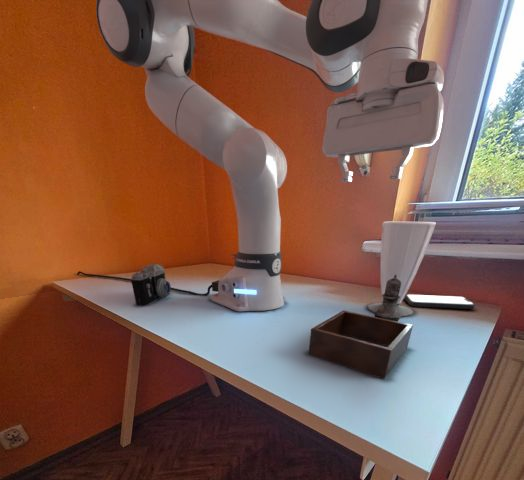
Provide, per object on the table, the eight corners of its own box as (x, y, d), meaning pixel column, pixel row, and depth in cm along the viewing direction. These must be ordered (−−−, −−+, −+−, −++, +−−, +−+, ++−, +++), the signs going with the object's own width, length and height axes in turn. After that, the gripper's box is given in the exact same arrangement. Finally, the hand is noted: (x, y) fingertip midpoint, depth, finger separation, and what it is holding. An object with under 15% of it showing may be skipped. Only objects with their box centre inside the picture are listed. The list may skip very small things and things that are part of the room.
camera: (155, 307, 76) (149, 270, 71) (133, 305, 77) (125, 269, 72) (178, 293, 89) (174, 261, 84) (159, 292, 90) (153, 261, 85)
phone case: (410, 307, 76) (475, 310, 73) (411, 301, 76) (477, 304, 72) (403, 299, 84) (462, 301, 81) (404, 293, 83) (463, 296, 80)
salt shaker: (381, 334, 58) (393, 278, 53) (365, 324, 64) (374, 272, 58) (404, 331, 60) (418, 276, 55) (386, 322, 65) (397, 271, 60)
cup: (416, 319, 67) (442, 222, 58) (367, 314, 70) (384, 222, 61) (409, 305, 77) (431, 221, 67) (367, 302, 80) (381, 221, 71)
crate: (308, 353, 50) (310, 328, 48) (340, 331, 60) (343, 310, 57) (384, 379, 43) (391, 350, 40) (406, 349, 52) (413, 324, 50)
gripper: (320, 94, 50) (313, 182, 56) (450, 59, 39) (424, 174, 45) (335, 104, 54) (327, 185, 61) (456, 75, 43) (431, 178, 49)
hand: (369, 180), depth 53 cm, fingers open, 8 cm apart
